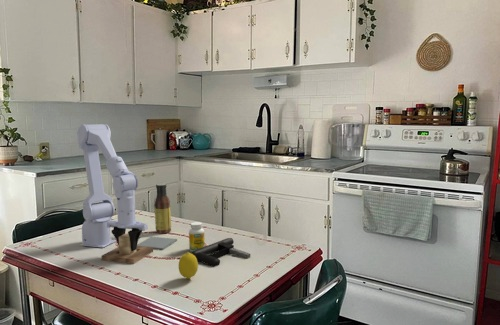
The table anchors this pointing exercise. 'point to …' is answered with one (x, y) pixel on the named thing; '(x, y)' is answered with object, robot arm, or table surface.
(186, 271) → the lemon
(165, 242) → the grey square plate
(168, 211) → the sauce bottle
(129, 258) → the brown wooden square frame
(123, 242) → the beech block
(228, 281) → the table surface
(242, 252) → the toy gun
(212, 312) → the table surface
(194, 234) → the supplement bottle
